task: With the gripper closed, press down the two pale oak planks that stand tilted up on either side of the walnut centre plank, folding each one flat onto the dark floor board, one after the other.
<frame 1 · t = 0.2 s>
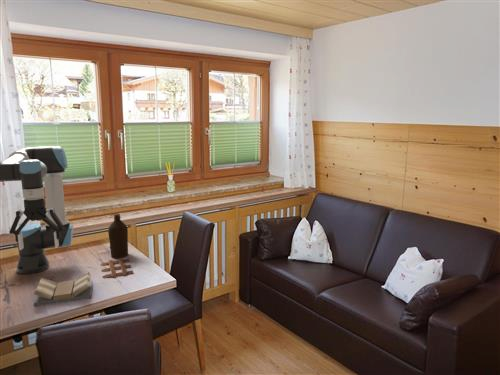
hand: (39, 247, 160), 27 cm above the table, tool pointing down, fingers open, 13 cm apart
plank 2: (81, 283, 178), point 4 cm above the table, hinge at 30.0°
plank 1: (45, 288, 173), point 4 cm above the table, hinge at 30.0°
olive oil: (119, 255, 225), on the table
decorative fence: (116, 270, 206), on the table
floor board: (65, 294, 177), on the table
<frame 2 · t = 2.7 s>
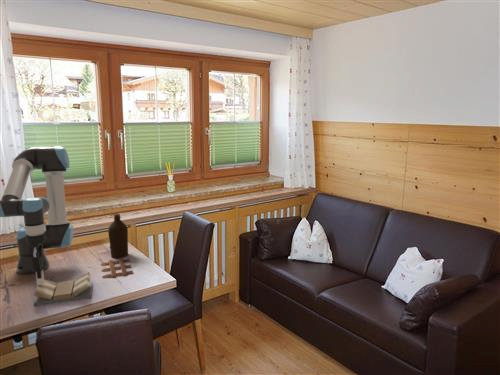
hand: (40, 284, 172), 7 cm above the table, tool pointing down, fingers closed
plank 1: (45, 288, 173), point 4 cm above the table, hinge at 26.5°, touching gripper
everything else where it was.
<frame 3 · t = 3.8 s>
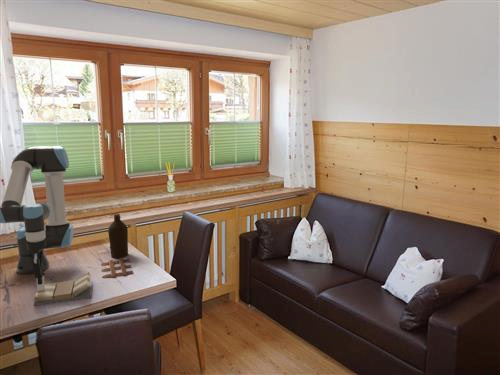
hand: (41, 289, 173), 4 cm above the table, tool pointing down, fingers closed
plank 1: (46, 291, 174), point 3 cm above the table, hinge at 3.3°, touching gripper
everything else where it was.
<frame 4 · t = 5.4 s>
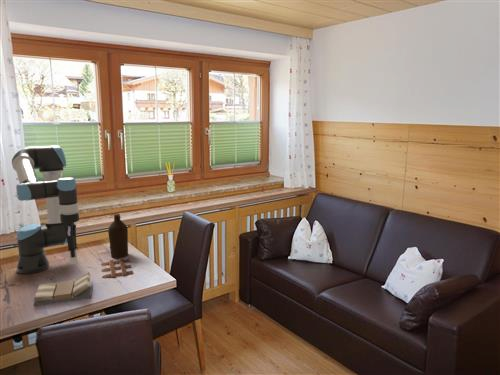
hand: (74, 263, 175), 15 cm above the table, tool pointing down, fingers closed
plank 1: (46, 291, 174), point 3 cm above the table, hinge at 3.3°
everything else where it was.
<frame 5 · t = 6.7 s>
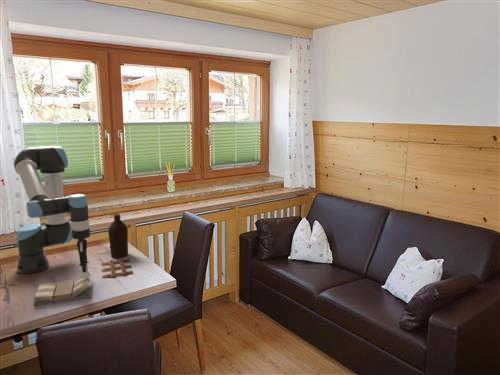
hand: (85, 277, 178), 7 cm above the table, tool pointing down, fingers closed
plank 2: (82, 283, 178), point 4 cm above the table, hinge at 28.9°, touching gripper
everything else where it was.
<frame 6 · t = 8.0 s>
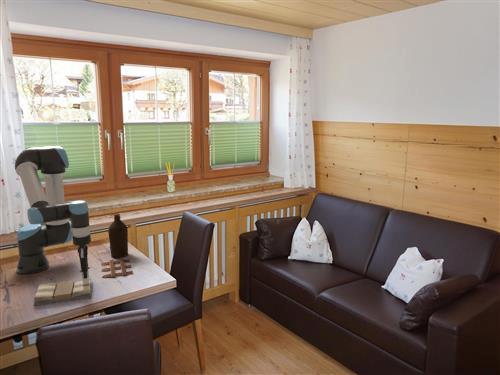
hand: (86, 283, 179), 4 cm above the table, tool pointing down, fingers closed
plank 2: (82, 286, 178), point 3 cm above the table, hinge at 3.9°, touching gripper
everything else where it was.
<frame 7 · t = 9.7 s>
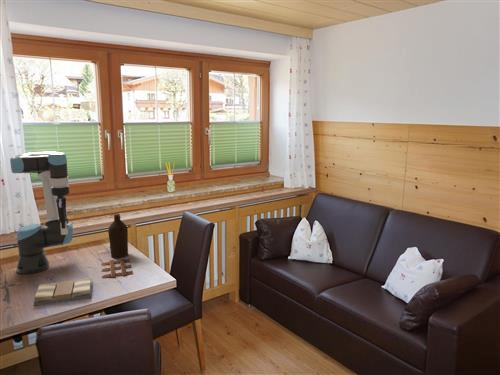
hand: (64, 234, 185), 25 cm above the table, tool pointing down, fingers closed
plank 2: (82, 286, 178), point 3 cm above the table, hinge at 3.8°
everything else where it was.
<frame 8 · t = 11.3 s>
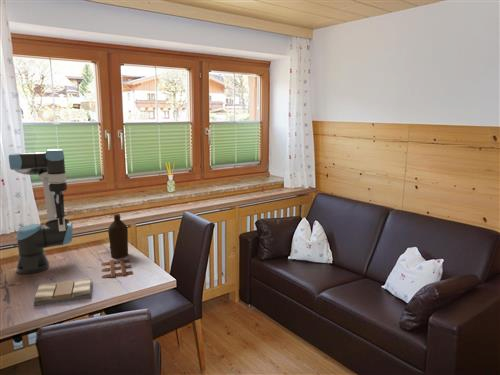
hand: (62, 230, 185), 26 cm above the table, tool pointing down, fingers closed
nothing on the table moved.
at the end: plank 1 at +3° (first picture: +30°); plank 2 at +4° (first picture: +30°) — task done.
